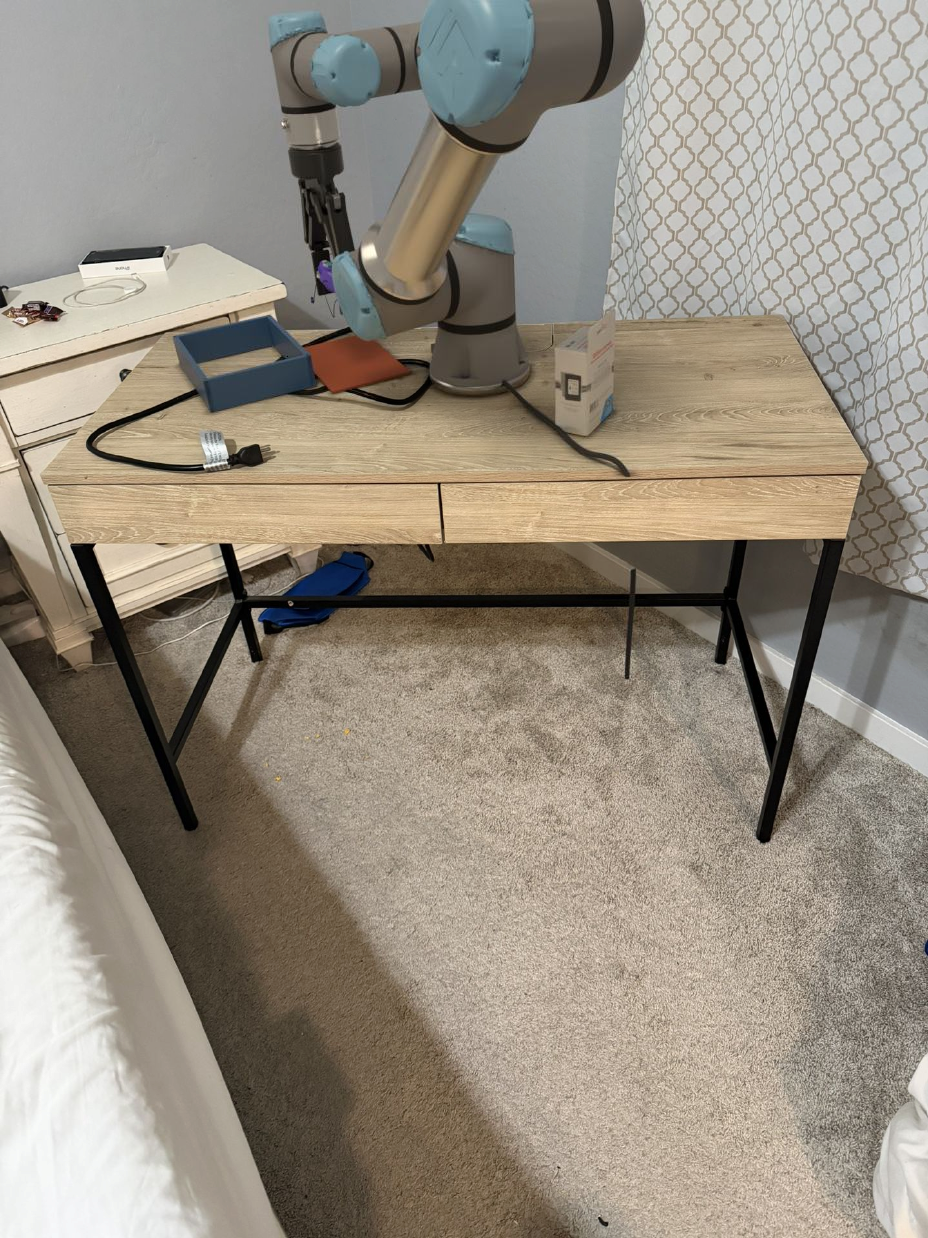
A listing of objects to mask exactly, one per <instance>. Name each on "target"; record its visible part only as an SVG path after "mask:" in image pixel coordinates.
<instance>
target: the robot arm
mask: <svg viewBox="0 0 928 1238" xmlns="http://www.w3.org/2000/svg"><path fill="white" fill-rule="evenodd" d="M645 15H646V14H645V8H644V5H643V3H642V0H430V1H429V3H428V4H427V7H426V9H425V11H424V14H423V16H422V19H421V21H416V22H411V23H405V24H399V25H393V26H392V25H391V26H384V27H377V28H376V27H375V28H368V29H361V30H354V31H353V30H352V31H348V32H338V33H329V32H328V30H327V27H326V23H325V18H324V16H323V15H322V13H321V12H320V11H317V10H303V11H302V10H301V11H291V12H290V11H289V12H282V13H278V14H273V15H272V16H271V17H270V18H269V20H268V23H267V27H268V36H269V52H270V53H271V59H272V65H273V69H274V76H275V81H276V86H277V87H276V88H277V93H278V99H279V102H280V103H279V104H280V110H281V115H282V118H283V119H282V120H283V121H280V123H279V125H280V128H281V130H284V134H285V139H286V144H289V147H288V150H287V154H288V160H289V165H290V171H291V175H292V176H293V177H294V178H296V179H297V184H298V188H299V193H300V194H299V195H300V206H301V215H302V216H301V217H302V228H303V240H304V243H305V245H308V249H309V251H310V252H311V253H310V254H311V261H312V268H313V273H314V280H315V282H316V281H317V285H316V284H315V286H316V291H317V296H319V297H322V296H325V295H331V294H333V293H332V292H330V291H328V290H327V289H326V287H325V285H324V284H323V283H322V282H321V281H320V279H319V278H318V279H317V271H318V266H319V265H320V262H321V261H323V260H324V259H325V258H326V257H327V256H328V255H329V254H331V253H332V254H331V255H329V256H328V257H327V258H326V259H325V260H327V261H330V262H332V263H333V264H332V269H331V270H332V279H333V285H334V289H335V293H334V294H335V297H336V300H337V304H338V308H339V314H340V315H341V316H343V318H344V320H345V322H346V324H347V325H348V327H349V328H350V330H351V331H352V333H353V335H354V336H355V335H357V336H358V337H359V338H360V339H362V340H365V341H372V340H373V341H377V340H381V339H382V340H386V339H387V338H388V337H391V336H394V335H398V334H402V333H405V332H409V331H412V330H415V329H418V328H421V327H425V326H428V325H431V324H435V323H437V331H436V336H435V341H434V343H430V351H431V352H430V353H431V358H430V362H429V369H428V370H429V371H428V372H429V379H430V383H431V385H432V386H433V387H434V388H436V389H437V390H439V391H442V392H444V393H447V394H450V395H456V396H461V397H462V396H463V397H483V396H490V395H491V396H493V395H497V394H502V393H505V392H508V391H509V392H510V393H511V394H512V395H513V396H514V397H515V398H516V399H517V400H518V401H519V403H521V405H523V406H524V407H525V408H526V409H528V410H529V411H530V412H531V413H532V414H533V415H535V416H536V417H538V418H539V419H540V420H541V421H543V422H544V423H546V424H547V425H548V426H549V427H551V428H552V429H554V431H556V432H557V433H558V435H560V437H562V439H564V441H565V442H566V443H568V445H570V446H571V447H572V448H573V449H575V450H576V451H578V452H579V453H580V454H582V455H584V456H586V457H590V458H594V459H600V460H604V461H608V462H610V463H612V464H614V465H615V466H617V468H618V469H619V470H620V471H621V473H622V474H623V476H624V477H626V478H631V474H630V472H629V469H628V468H627V466H626V465H625V464H624V463H623V462H622V461H621V460H620V459H618V458H617V457H615V456H613V455H611V454H608V453H604V452H598V451H592V450H589V449H587V448H585V447H583V446H582V445H580V444H579V443H578V442H577V441H575V440H574V439H573V438H572V437H571V436H570V435H569V434H568V433H567V432H564V431H563V430H562V429H561V428H560V427H559V426H558V425H556V423H555V422H554V421H553V420H552V419H551V418H549V417H548V416H546V415H545V414H544V413H543V412H541V411H540V410H538V409H537V408H536V407H534V405H532V404H530V403H529V402H528V401H527V400H526V399H525V398H524V397H523V396H522V395H521V394H520V393H519V391H517V389H516V388H518V387H519V386H521V385H523V384H524V383H525V382H527V380H528V379H529V377H530V371H531V370H530V360H529V356H528V353H527V350H526V348H525V345H524V341H523V339H522V336H521V334H520V331H519V327H518V325H517V311H516V309H517V307H516V276H515V274H516V273H515V255H516V250H515V243H514V236H513V230H512V227H511V225H510V223H509V222H508V221H506V220H505V219H503V218H501V217H498V216H495V215H490V214H485V213H477V212H476V213H474V212H470V211H471V210H472V208H473V207H474V205H475V203H476V201H477V200H478V198H479V196H480V194H481V192H482V190H483V188H484V186H485V185H486V184H487V181H488V179H489V178H490V176H491V175H492V173H493V170H494V169H495V168H496V165H497V163H498V161H499V160H500V158H501V156H503V155H508V154H511V153H514V152H515V151H517V150H518V149H520V148H521V147H522V146H523V145H524V144H525V143H526V141H527V140H528V138H529V137H530V135H531V133H532V131H533V130H534V129H535V127H536V125H537V123H538V121H539V120H540V118H541V117H542V116H543V114H544V113H545V112H547V111H549V110H551V109H556V108H560V107H561V108H562V107H565V106H570V105H575V104H581V103H585V102H589V101H592V100H597V99H599V98H601V97H603V96H606V95H607V94H609V93H611V92H612V91H614V90H615V89H616V88H618V87H619V86H620V85H621V84H622V83H624V81H626V79H627V78H628V76H629V75H630V74H631V73H632V71H633V69H634V68H635V66H636V64H637V63H638V61H639V59H640V55H641V52H642V50H643V47H644V42H645V36H646V16H645ZM421 90H422V92H423V95H424V98H425V100H426V102H427V105H428V108H429V113H428V116H427V117H426V119H425V123H424V125H423V127H422V129H421V132H420V133H419V136H418V139H417V141H416V144H415V146H414V148H413V151H412V153H411V155H410V157H409V160H408V162H407V165H406V167H405V170H404V171H403V174H402V177H401V179H400V181H399V183H398V186H397V188H396V190H395V192H394V194H393V195H394V196H393V198H392V200H391V202H390V204H389V207H388V209H387V212H386V214H385V216H384V218H382V219H380V220H377V221H376V222H374V223H373V224H371V225H370V227H369V228H368V229H367V230H366V232H365V233H364V235H363V236H362V240H361V242H360V244H359V246H358V248H357V249H356V248H355V244H354V239H353V238H354V237H353V234H352V229H351V223H350V220H349V216H348V211H347V210H348V209H347V203H346V202H347V201H346V195H345V193H344V192H343V191H342V192H341V191H340V192H339V190H338V188H337V187H336V184H335V181H334V178H335V177H336V176H338V175H340V174H342V173H343V172H344V170H345V164H344V155H343V149H342V144H340V142H338V140H339V139H340V138H341V129H340V123H339V114H338V108H337V106H338V107H341V108H342V107H344V108H347V107H360V106H363V105H365V104H367V103H368V102H369V101H370V100H371V99H375V98H381V97H386V96H387V97H388V96H392V95H396V94H401V93H408V92H414V91H421ZM328 248H330V250H329V249H328ZM330 252H331V253H330ZM331 256H332V259H333V260H331ZM323 288H324V290H323ZM324 292H325V294H324ZM636 583H637V568H635V567H634V568H632V569H630V580H629V601H628V614H627V625H626V626H627V629H626V640H625V656H624V657H625V658H624V680H630V675H631V657H632V654H631V653H632V641H633V640H632V639H633V631H634V630H633V628H634V615H635V605H636V603H635V602H636V589H637V588H636V585H637V584H636Z"/></svg>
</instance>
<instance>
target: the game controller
mask: <svg viewBox="0 0 928 1238" xmlns="http://www.w3.org/2000/svg"><path fill="white" fill-rule="evenodd" d="M329 255H330V256H332V252H331V253H330V254H329ZM329 255H328V256H329ZM328 256H327V257H328ZM327 257H326V258H327ZM326 258H325V259H326ZM325 259H324V260H323V261H321V262H320V265H319V266H318V271H317V279H318V278H319V279H320V281H321V282H322V283H323V284H324V285H325V287H326V289H327V290H328V291H330V292H332V293H331V294H336V293H335V289H334V285H333V279H332V270H331V269H332V264H333V261H331V262H330V261H327V260H325ZM316 285H317V281H316V280H315V287H314V292H313V296H311V297H310V303H311V304H313V305H314V304H315V299H316V298H315V297H316V291H317V286H316ZM323 290H324V288H323ZM324 294H325V292H324ZM326 295H327V294H326ZM326 295H324V297H325V300H326V303H327V306H328V308H329V312H330V313H331V316H332V318H334V319H335V307H336V303H337V302H338V300H337V299H336V300H335V301H334V303H333V310H332V309H331V307H330V304H329V301H328V298H327V296H326ZM332 311H333V313H332Z"/></svg>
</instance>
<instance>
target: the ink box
mask: <svg viewBox="0 0 928 1238" xmlns="http://www.w3.org/2000/svg"><path fill="white" fill-rule="evenodd" d="M616 316H617V315H616V308H612V309H611V310H610V311H609V312H607V313H605V314H604V315H603V316H602V317H600V318H599V319H598V320H597V321H596V322H595V323H593V324H592V325H591V326H589V325H582V326H581V327H580V328H578V329H577V330H576V331H574V332H573V333H572V334H571V335H570V336H568V337H567V338H566V339H564V340H563V341H561V342H560V343H559V344H558V345H556V346H555V347H554V383H555V384H554V391H555V393H554V397H555V399H554V401H555V402H554V403H555V406H554V407H555V411H554V413H555V416H554V417H555V418H554V419H555V422H554V423H556V425H558V426H559V427H560V428H561V429H562V430H563V431H564V432H565V433H566V434H573V435H577V436H583V437H588V436H589V435H590V434H591V433H592V432H593V431H594V430H595V429H596V428H598V427H599V426H600V424H601V423H603V421H605V419H606V418H608V417H609V415H611V414H612V412H613V402H614V377H615V350H616V319H617V317H616ZM602 326H605V327H604V328H602Z"/></svg>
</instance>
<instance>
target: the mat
mask: <svg viewBox="0 0 928 1238" xmlns="http://www.w3.org/2000/svg"><path fill="white" fill-rule="evenodd" d="M303 348H304V349H305V350H306V351H307V352H308V353H309V354H310V355H311V359H312V365H313V370H314V376H315V378H317V379H318V380H319V381H320V382H321V383H322V384H323V385H324V387H326V389H327V390H328V391H330V393H331V394H333V395H334V394H338V393H342V392H345V391H350V390H353V389H359V388H361V387H365V386H369V385H373V384H377V383H381V382H386V381H389V380H393V379H397V378H400V377H403V376H409V375H411V374H412V371H410V369H408V368H407V367H405V365H403V363H401V362H400V361H399V360H397V359H396V358H395V357H394V356H393V355H392V354H390V353H389V352H388V351H387V350H386V349H384V348H383V347H382V346H381V345H380V344H378V342H376V340H372V341H365V340H362V339H360V338H359V337H358V336H357V335H355V334H354V335H350V336H347V337H342V338H338V339H334V340H330V341H325V342H321V343H317V344H312V345H308V346H304V347H303Z"/></svg>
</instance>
